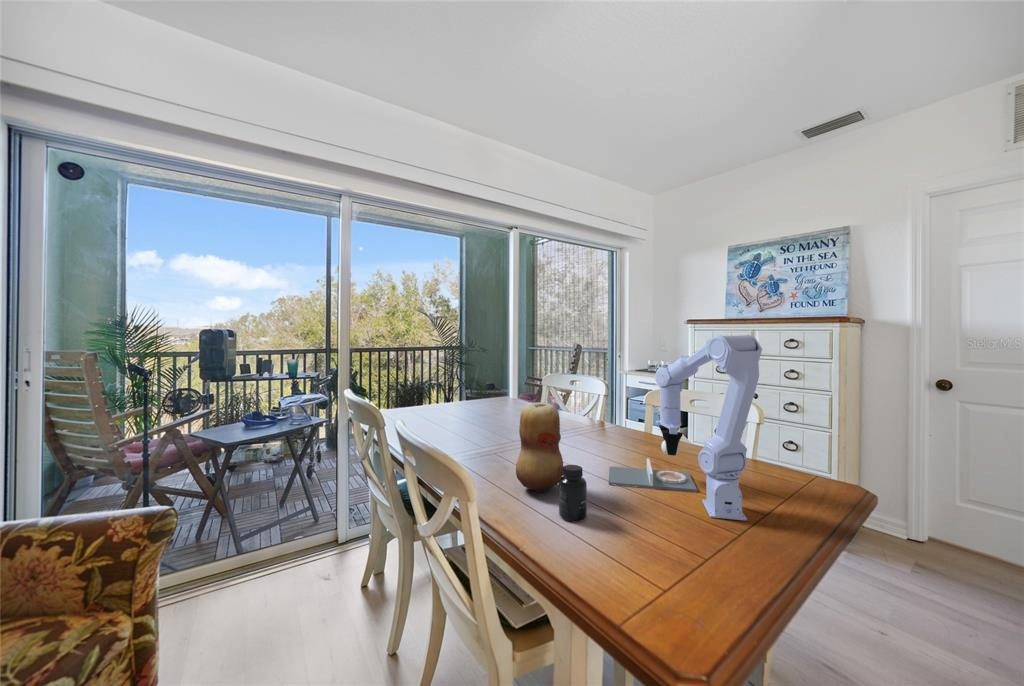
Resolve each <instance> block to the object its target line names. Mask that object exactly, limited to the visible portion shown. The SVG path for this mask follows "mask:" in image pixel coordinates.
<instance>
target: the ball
mask: <svg viewBox="0 0 1024 686" xmlns="http://www.w3.org/2000/svg"><path fill="white" fill-rule="evenodd" d="M660 445H661V446H660V447H661V451H662V452H663V454H664V455H666V456H669V457H673V456H674V455H668V453H667V448H666V442H665V440H664V439H663V441H662V442H661V444H660ZM679 451H680V445H679V444H678V448H677V453H676V455H677V454H678V453H679Z"/></svg>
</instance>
